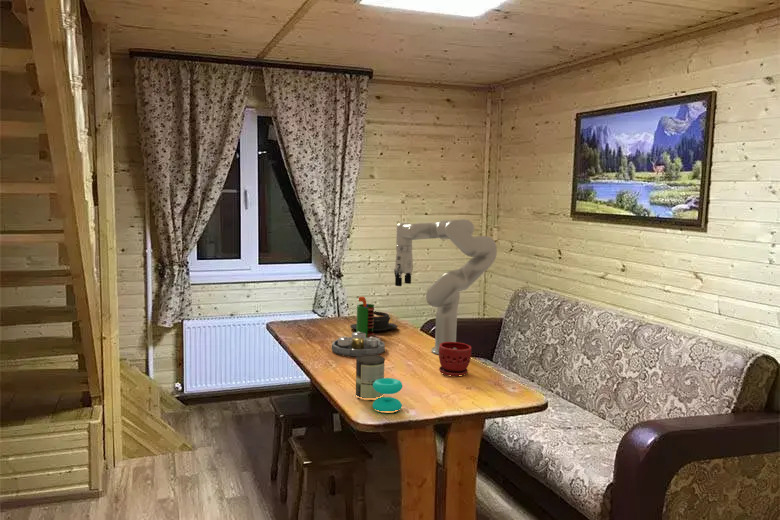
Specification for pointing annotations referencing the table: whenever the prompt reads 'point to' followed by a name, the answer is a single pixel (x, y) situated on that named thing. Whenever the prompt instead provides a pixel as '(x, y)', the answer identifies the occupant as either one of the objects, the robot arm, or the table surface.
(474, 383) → the table surface
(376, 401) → the donuts
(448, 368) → the plant pot
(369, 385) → the coffee can
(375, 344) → the planet gear
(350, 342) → the carrier
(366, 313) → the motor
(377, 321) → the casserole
